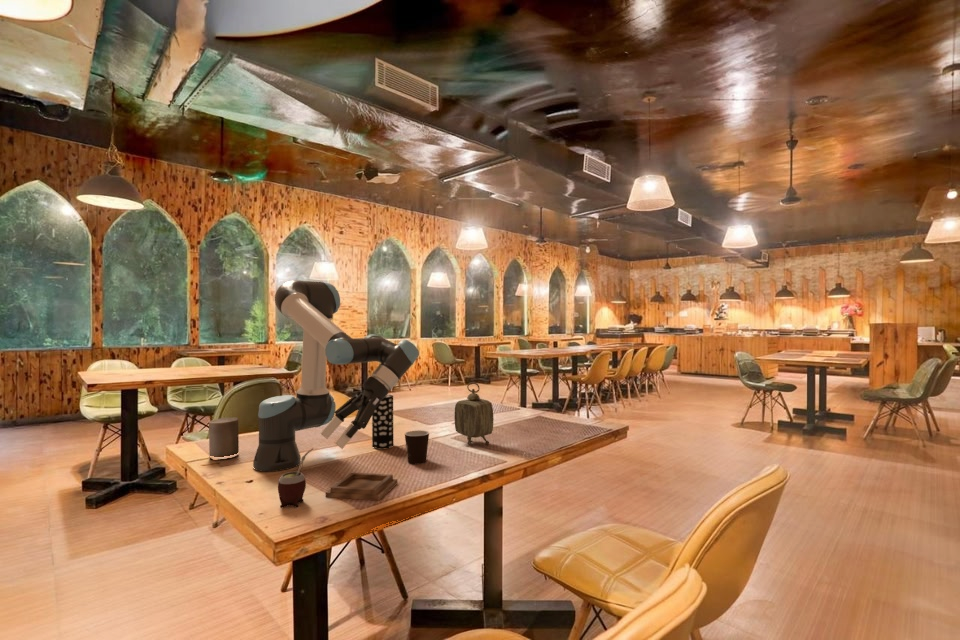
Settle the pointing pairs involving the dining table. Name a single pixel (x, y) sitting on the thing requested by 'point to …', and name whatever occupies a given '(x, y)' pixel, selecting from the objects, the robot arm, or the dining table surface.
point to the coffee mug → (416, 446)
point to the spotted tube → (383, 424)
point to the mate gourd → (292, 487)
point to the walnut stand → (362, 486)
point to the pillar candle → (223, 437)
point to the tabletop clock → (474, 416)
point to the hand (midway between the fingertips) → (330, 441)
